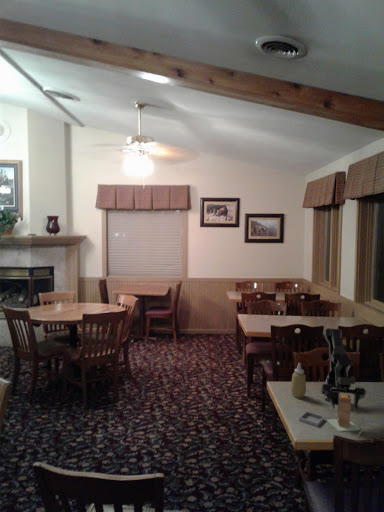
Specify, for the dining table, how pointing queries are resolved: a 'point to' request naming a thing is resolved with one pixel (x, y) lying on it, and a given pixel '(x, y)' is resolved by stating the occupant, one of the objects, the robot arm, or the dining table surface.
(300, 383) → the squeeze bottle
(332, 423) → the sage pad
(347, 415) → the walnut box
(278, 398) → the dining table surface
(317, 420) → the grey square tray
